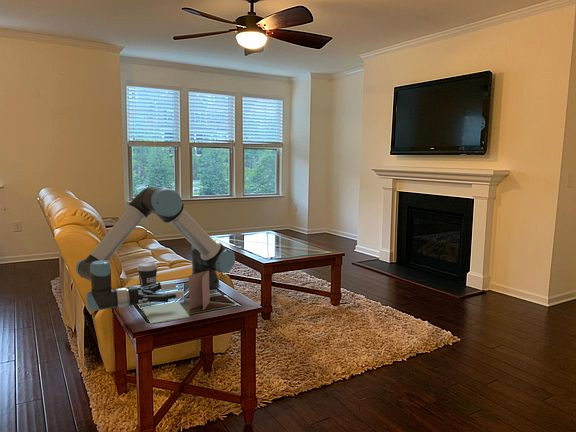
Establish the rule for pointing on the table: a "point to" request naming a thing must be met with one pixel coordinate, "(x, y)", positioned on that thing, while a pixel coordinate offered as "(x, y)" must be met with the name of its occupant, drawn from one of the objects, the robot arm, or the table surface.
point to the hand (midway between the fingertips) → (179, 289)
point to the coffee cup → (147, 273)
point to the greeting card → (199, 289)
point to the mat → (165, 312)
